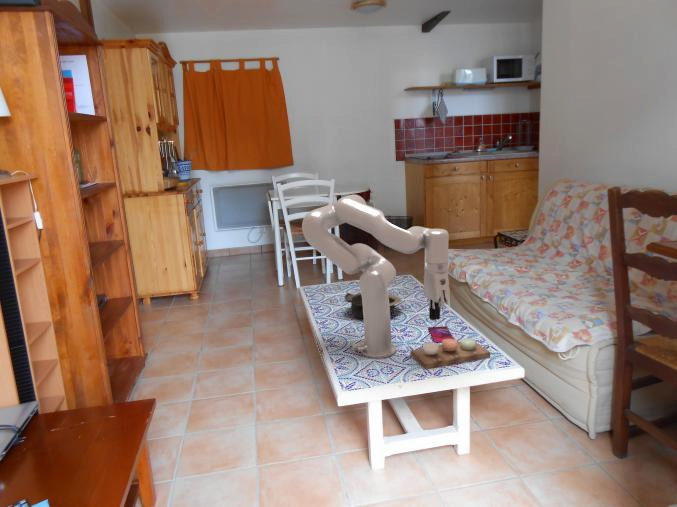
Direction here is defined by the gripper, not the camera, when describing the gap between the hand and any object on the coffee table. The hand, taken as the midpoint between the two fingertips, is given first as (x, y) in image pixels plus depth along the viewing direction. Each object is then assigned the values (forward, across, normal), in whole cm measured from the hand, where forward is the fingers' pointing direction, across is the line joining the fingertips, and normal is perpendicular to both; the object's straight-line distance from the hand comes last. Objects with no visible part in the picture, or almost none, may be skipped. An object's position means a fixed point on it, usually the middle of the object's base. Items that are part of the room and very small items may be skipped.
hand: (434, 318), depth 171 cm
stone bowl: (+17, +53, +1) cm, 55 cm away
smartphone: (+15, +17, -12) cm, 26 cm away
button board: (+14, -1, -6) cm, 15 cm away
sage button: (+12, -2, -12) cm, 17 cm away
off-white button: (+11, -1, +2) cm, 11 cm away
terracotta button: (+11, -1, -5) cm, 12 cm away
